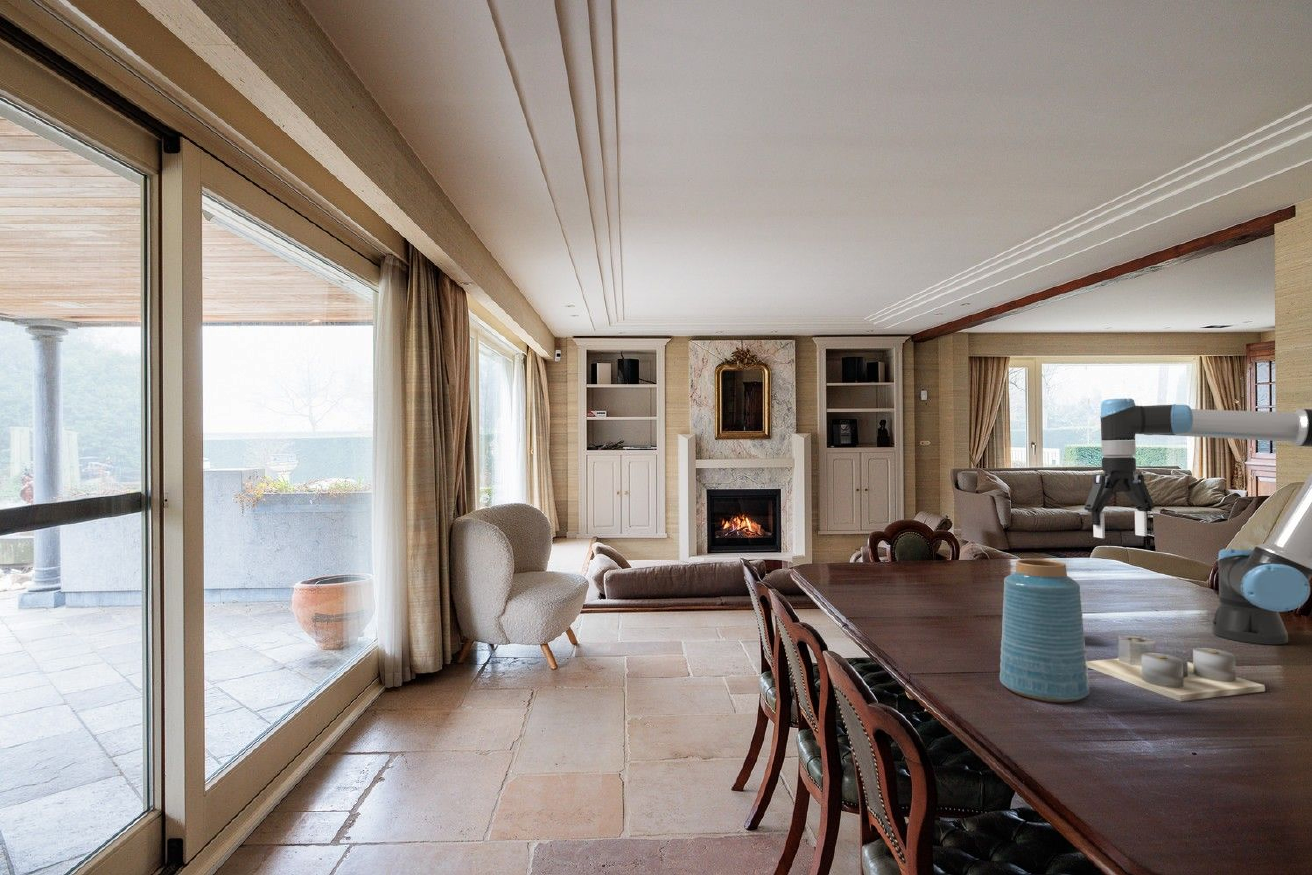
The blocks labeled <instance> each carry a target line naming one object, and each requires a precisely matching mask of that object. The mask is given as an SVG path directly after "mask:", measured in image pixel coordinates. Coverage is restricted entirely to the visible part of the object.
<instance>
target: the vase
mask: <svg viewBox="0 0 1312 875" xmlns="http://www.w3.org/2000/svg"><path fill="white" fill-rule="evenodd" d="M1081 598H1082V596H1081V584H1080V583H1079V582H1078V581H1076V580H1075V579H1073V578H1072V577H1070V576H1068V572H1067V564H1066V563H1065V562H1061V561H1056V560H1050V559H1039V558H1023V559H1017V560H1016V563H1015V572H1013V573H1011V574H1010V575H1006V576H1005V577H1004V579H1003V598H1002V600H1003V603H1002V623H1001V626H1002V627H1001V630H1002V631H1001V640H1000V645H1001V646H1000V656H999V657H1000V663H999V668H1000V671H999V681H1000V683H1001V684H1002V685H1003V686H1004V687H1006V688H1007V689H1008V690H1010V692H1013V693H1014V694H1017V695H1019V696H1021V697H1025V698H1028V699H1032V700H1036V701H1042V702H1049V703H1074V702H1077V701H1080V700H1082V699H1084V698H1086V697H1088V695H1090V684H1089V674H1088V671H1089V670H1088V669H1089V668H1088V666H1087V661H1088V658H1087V649H1086V641H1085V632H1084V630H1085V629H1084V617H1083V610H1082V608H1083V605H1082V600H1081Z"/></svg>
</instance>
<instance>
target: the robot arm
mask: <svg viewBox="0 0 1312 875" xmlns="http://www.w3.org/2000/svg"><path fill="white" fill-rule="evenodd" d="M1099 418H1100V435H1101V436H1100V438H1101V439H1100V440H1101V442H1100V443H1101V455H1102V456H1103V457H1102V459H1101V470H1102V472H1104V474H1103V475H1101V474H1100V475H1099V474H1095V475H1093V484H1092V487H1091V488H1090V489H1091V490H1090V492H1089V494H1088V497H1087V500H1086V502H1085V505H1084V507H1083V508H1084V510H1085V511H1087V512H1088V513H1091V524H1092V525H1093V526H1092V527H1093V538H1098V539H1105V538H1106V536H1105V535H1106V534H1105V532H1106V531H1105V530H1106V529H1105V528H1106V527H1105V513H1103V512H1102V511H1103V510H1104V508H1106V506H1107V505H1108V503H1109V501H1110V500H1111V498H1112V496H1113V495H1114V494H1116V493H1122V492H1123V493H1125V495H1126V496H1127V497H1128V498H1129V500H1130V501H1131V503H1132V504H1133V506H1134V507H1135V508H1136V509H1137V510H1134V533H1135V534H1134V535H1135V536H1139V537H1147V536H1148V530H1147V528H1148V527H1147V525H1148V521H1149V520H1148V518H1149V517H1148V512H1149V513H1150V512H1152V510H1153V509H1155V503H1154V502H1153V499H1152V497H1151V494H1150V492H1149V490H1148V488H1147V486H1146V483H1145V477H1144V476H1145V475H1144V474H1136V473H1135V474H1134V472H1135V471H1136V472H1137V459H1136V458H1135V457H1134V456H1136V455H1137V452H1136V451H1137V449H1136V446H1137V445H1136V435H1145V436H1177V437H1193V438H1194V437H1197V438H1213V439H1214V438H1216V439H1217V438H1218V439H1230V440H1231V439H1232V440H1234V439H1236V440H1237V439H1238V440H1251V441H1253V440H1254V441H1271V442H1288V443H1289V442H1291V443H1292V444H1293V445H1294V446H1296V447H1308V448H1312V408H1298V409H1297V410H1295V411H1294V412H1286V411H1261V410H1260V411H1259V410H1258V411H1255V410H1228V409H1227V410H1225V409H1200V408H1199V409H1198V408H1191V407H1190V405H1187V404H1176V403H1174V404H1158V405H1155V404H1154V405H1136V403H1135V400H1134V399H1133V398H1109V399H1105V400H1103V401H1101V404H1100V417H1099ZM1217 564H1218V566H1217V567H1218V591H1219V592H1218V593H1219V594H1218V596H1219V598H1218V599H1219V602H1218V603H1219V605H1218V608H1217V610H1216V612H1215V615H1214V618H1213V620H1212V622H1211V633H1212V634H1214V635H1215V636H1218V637H1222V638H1223V639H1224V638H1225V639H1228V640H1233V641H1238V642H1244V643H1250V644H1259V645H1285V644H1287V643H1288V642H1289V635H1288V631H1287V628H1286V627H1285V624H1284V622H1283V618H1282V617H1281V615H1280V612H1288V611H1292V610H1295V609H1297V608H1300V607H1302V606H1303V605H1304V604H1305V603H1306V602H1307V600H1308V599H1309V597H1310V595H1311V585H1310V582H1309V581H1310V579H1312V471H1311V472H1310V474H1309V475H1308V477H1307V479H1306V481H1304V484H1303V485H1302V487H1301V489H1300V490H1299V491H1298V493H1297V495H1296V496H1295V497H1294V499H1293V501H1292V502H1291V504H1290V506H1289V507H1288V509H1287V511H1286V512H1285V513H1284V516H1283V517H1282V519H1281V521H1280V522H1279V523H1278V525H1277V527H1276V528H1275V530H1274V531H1273V533H1272V534H1271V536H1270V538H1269V539H1268V541H1267V542H1265V543H1259V544H1256V545H1255V547H1254V548H1253V549H1230V548H1229V549H1228V548H1223V549H1220V550H1219V552H1218V558H1217Z"/></svg>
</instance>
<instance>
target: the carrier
mask: <svg viewBox="0 0 1312 875" xmlns="http://www.w3.org/2000/svg"><path fill="white" fill-rule="evenodd" d="M1132 641H1136V642H1141V641H1140V640H1139V639H1132ZM1141 658H1142V666H1136V665H1129V664H1126V663H1124V662H1121V661H1119V659H1118V657H1117V658H1109V659H1101V660H1100V659H1099V660H1098V659H1096V660H1089V661H1088V660H1087V666H1088V669H1090V670H1094V671H1097V672H1099V673H1102V674H1105V675H1107V676H1109V677H1110V676H1111V677H1113V678H1115V679H1118V680H1120V681H1124V682H1126V683H1129V684H1132V685H1135V686H1137V687H1140V688H1142V689H1145V690H1148V691H1151V692H1154V693H1156V694H1159V695H1162V696H1164V697H1167V698H1169V699H1172V700H1176V701H1178V702H1185V701H1193V700H1202V699H1211V698H1220V697H1227V696H1236V695H1244V694H1253V693H1261V692H1266V686H1265V684H1262V683H1259V682H1255V681H1252V680H1248V679H1245V678H1242V677H1239V676H1236V655H1235V654H1234V653H1232V652H1229V651H1226V650H1223V649H1219V648H1218V649H1216V648H1210V647H1196V648H1193V649H1192V662H1190V661H1187V660H1185V659H1182V658H1180V657H1178V656H1174V655H1170V654H1165V653H1161V652H1159V653H1158V652H1156V653H1143V654H1142V655H1141Z"/></svg>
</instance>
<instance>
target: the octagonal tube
mask: <svg viewBox="0 0 1312 875" xmlns="http://www.w3.org/2000/svg"><path fill="white" fill-rule="evenodd" d="M1132 639H1139V640H1140V641H1141V642H1136V641H1132ZM1143 653H1157V643H1156V640H1154V639H1151V638H1149V637H1144V636H1137V635H1118V636H1117V658H1118V659H1119V661H1121V662H1124V663H1126V664H1129V665H1136V666H1142V658H1141V655H1142V654H1143Z"/></svg>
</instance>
